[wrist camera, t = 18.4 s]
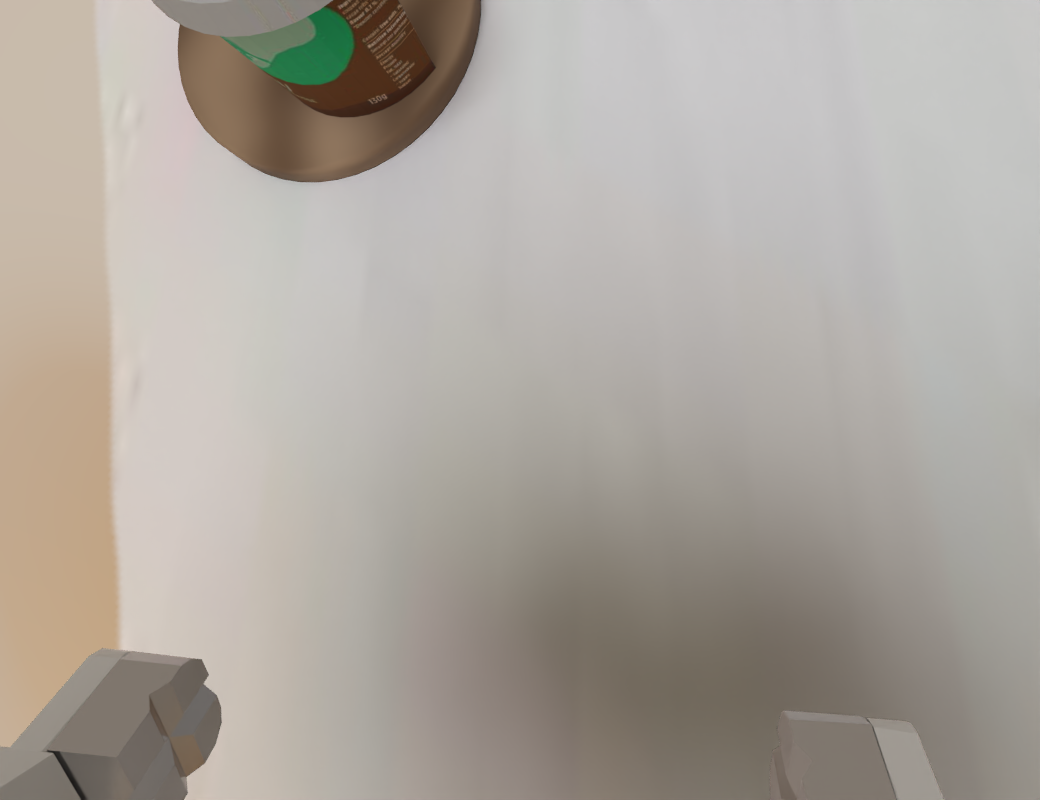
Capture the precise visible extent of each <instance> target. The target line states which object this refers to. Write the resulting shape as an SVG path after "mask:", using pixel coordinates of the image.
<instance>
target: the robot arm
mask: <svg viewBox="0 0 1040 800" xmlns="http://www.w3.org/2000/svg"><path fill="white" fill-rule="evenodd" d="M208 675H209V674H208V672H207V670H206V668H205V665H204V663H203V661H202V659H194V658H186V657H177V656H168V655H160V654H151V653H143V652H135V651H125V650H115V649H103V648H102V649H100V650H99V651H97V652H95V653H93V654H92V655H90V656H89V657H88V658H87V659H86V660H85V661H84V662H83V664H82V665H81V666H80V667H79V668H78V669H77V670H76V672H75V673H74V674H73V675H72V676H71V677H70V679H69V680H68V681H67V682H66V683H65V684H64V686H63V687H62V688H61V689H60V690H59V691H58V692H57V694H56V695H55V696H54V697H53V698H52V699H51V701H50V702H49V703H48V704H47V705H46V706H45V708H44V709H43V710H42V711H41V712H40V713H39V714H38V716H37V717H36V718H35V719H34V721H32V723H31V724H30V725H29V726H28V727H27V728H26V730H25V731H24V732H23V733H22V734H21V736H19V738H18V739H17V740H16V741H15V742H14V743H13V745H12V746H11V747H0V800H184V799H185V797H186V795H187V793H188V790H187V776H188V775H190V774H191V773H192V772H194V771H195V770H196V769H198V768H199V767H200V766H202V765H203V764H204V763H205V762H206V760H207V759H208V757H209V755H210V753H211V751H212V750H213V748H214V746H215V744H216V741H217V737H218V734H219V730H220V726H221V723H222V720H221V706H220V703H219V700H218V697H217V695H216V694H214V693H213V692H212V691H211V690H210V689H209V688H207V687H206V686H205V685H204V682H205V680H206V679H207V677H208ZM777 731H778V737H779V742H780V746H778V747H777V748H775V749H774V750H772V757H771V763H770V798H771V800H944V797H943V795H942V792H941V790H940V787H939V785H938V782H937V780H936V777H935V775H934V772H933V770H932V767H931V765H930V762H929V760H928V757H927V755H926V752H925V750H924V747H923V745H922V742H921V740H920V737H919V735H918V732H917V730H916V729H915V728H914V727H913V725H912V724H911V723H910V722H908V721H901V720H888V719H875V718H864V717H862V716H853V715H839V714H826V713H813V712H799V711H786V710H783V712H782V713H781V714H780V716H779V721H778V726H777Z"/></svg>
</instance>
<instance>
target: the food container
mask: <svg viewBox="0 0 1040 800" xmlns="http://www.w3.org/2000/svg"><path fill="white" fill-rule="evenodd" d="M152 1H153V3H154V4H155V5H156V6H157V7H158V8H159V9H161V10H162V11H163V12H164V13H165V14H166V15H167V16H168V17H169V18H171V19H173V20H174V21H176V22H178V23H179V24H181V25H183V26H184V27H187V28H189V29H192V30H195V31H198V32H201V33H204V34H209V35H216V36H220V37H221V38H223V39H224V40H225V41H226V42H228V43H229V44H230V45H231V46H233V47H234V48H235V49H236V50H238V51H239V52H240V53H241V54H243V55H244V56H245V57H246V58H248V59H249V60H250V61H251V62H253V63H254V64H255V65H256V66H258V67H259V68H260V69H261V70H263V71H264V72H265V73H266V74H268V75H269V76H270V77H271V78H273V79H274V80H275V81H276V82H278V83H279V84H280V85H281V86H282V87H284V88H285V89H286V90H287V91H289V92H290V93H291V94H292V95H294V96H295V97H296V98H297V99H299V100H300V101H301V102H302V103H304V104H305V105H307V106H308V107H310V108H312V109H313V110H315V111H317V112H320V113H323V114H325V115H329V116H335V117H359V116H365V115H370V114H373V113H376V112H379V111H382V110H384V109H386V108H388V107H390V106H392V105H394V104H396V103H398V102H399V101H401V100H402V99H404V98H405V97H407V96H408V95H410V94H411V93H412V92H413V91H415V90H416V89H417V88H418V87H419V86H420V85H421V84H422V83H423V82H424V81H425V80H426V79H427V78H428V77H429V76H430V74H431V73H432V72H433V71H434V70H435V68H436V67H435V65H434V63H433V61H432V59H431V58H430V56H429V54H428V52H427V50H426V49H425V47H424V45H423V43H422V41H421V40H420V38H419V36H418V34H417V32H416V31H415V29H414V27H413V25H412V23H411V22H410V20H409V18H408V16H407V14H406V13H405V11H404V9H403V7H402V5H401V4H400V2H399V0H152Z"/></svg>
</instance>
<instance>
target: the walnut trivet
mask: <svg viewBox="0 0 1040 800" xmlns="http://www.w3.org/2000/svg"><path fill="white" fill-rule="evenodd" d="M399 2H400V4H401V5H402V7H403V9H404V11H405V13H406V14H407V16H408V18H409V20H410V22H411V23H412V25H413V27H414V29H415V31H416V32H417V34H418V36H419V38H420V40H421V41H422V43H423V45H424V47H425V49H426V50H427V52H428V54H429V56H430V58H431V59H432V61H433V63H434V65H435V67H436V68H435V70H434V71H433V72H432V73H431V74H430V76H429V77H428V78H427V79H426V80H425V81H424V82H423V83H422V84H421V85H420V86H419V87H418V88H417V89H416V90H415V91H413V92H412V93H411V94H410V95H408V96H407V97H405V98H404V99H402V100H401V101H399V102H398V103H396V104H394V105H392V106H390V107H388V108H386V109H384V110H382V111H379V112H376V113H373V114H370V115H365V116H359V117H335V116H329V115H325V114H323V113H320V112H317V111H315V110H313V109H312V108H310V107H308V106H307V105H305V104H304V103H302V102H301V101H300V100H299V99H297V98H296V97H295V96H294V95H292V94H291V93H290V92H289V91H287V90H286V89H285V88H284V87H282V86H281V85H280V84H279V83H278V82H276V81H275V80H274V79H273V78H271V77H270V76H269V75H268V74H266V73H265V72H264V71H263V70H261V69H260V68H259V67H258V66H256V65H255V64H254V63H253V62H251V61H250V60H249V59H248V58H246V57H245V56H244V55H243V54H241V53H240V52H239V51H238V50H236V49H235V48H234V47H233V46H231V45H230V44H229V43H228V42H226V41H225V40H224V39H223V38H221V37H220V36H216V35H209V34H204V33H201V32H198V31H195V30H192V29H189V28H187V27H184V26H183V25H181V24H180V27H179V38H178V60H179V70H180V76H181V81H182V85H183V88H184V91H185V94H186V97H187V100H188V102H189V104H190V106H191V108H192V110H193V112H194V114H195V116H196V118H197V119H198V120H199V122H200V123H201V125H202V126H203V127H204V129H205V130H206V131H207V132H208V133H209V134H210V135H211V136H212V137H213V138H214V139H215V140H216V141H217V142H218V143H219V144H221V145H222V146H223V147H225V148H226V149H228V150H229V151H230V152H232V153H233V154H235V155H236V156H237V157H239V158H240V159H242V160H243V161H244V162H246V163H247V164H249V165H250V166H252V167H254V168H256V169H257V170H259V171H261V172H263V173H265V174H268V175H271V176H274V177H278V178H281V179H285V180H291V181H298V182H322V181H330V180H337V179H341V178H345V177H348V176H352V175H356V174H358V173H361V172H363V171H366V170H368V169H371V168H373V167H375V166H377V165H379V164H381V163H383V162H384V161H386V160H388V159H390V158H391V157H393V156H395V155H396V154H397V153H399V152H400V151H402V150H403V149H404V148H406V147H407V146H409V145H410V144H411V143H412V142H413V141H414V140H416V139H417V138H418V137H419V136H420V135H421V134H422V133H423V132H424V131H425V130H427V128H428V127H429V126H430V125H431V124H432V123H433V122H434V121H435V119H436V118H437V117H438V116H439V115H440V114H441V113H442V111H443V110H444V108H445V107H446V105H447V104H448V102H449V101H450V100H451V98H452V97H453V95H454V94H455V92H456V90H457V88H458V86H459V84H460V83H461V81H462V79H463V77H464V75H465V73H466V70H467V68H468V65H469V63H470V60H471V58H472V55H473V51H474V47H475V44H476V40H477V36H478V30H479V22H480V15H481V0H399Z"/></svg>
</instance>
